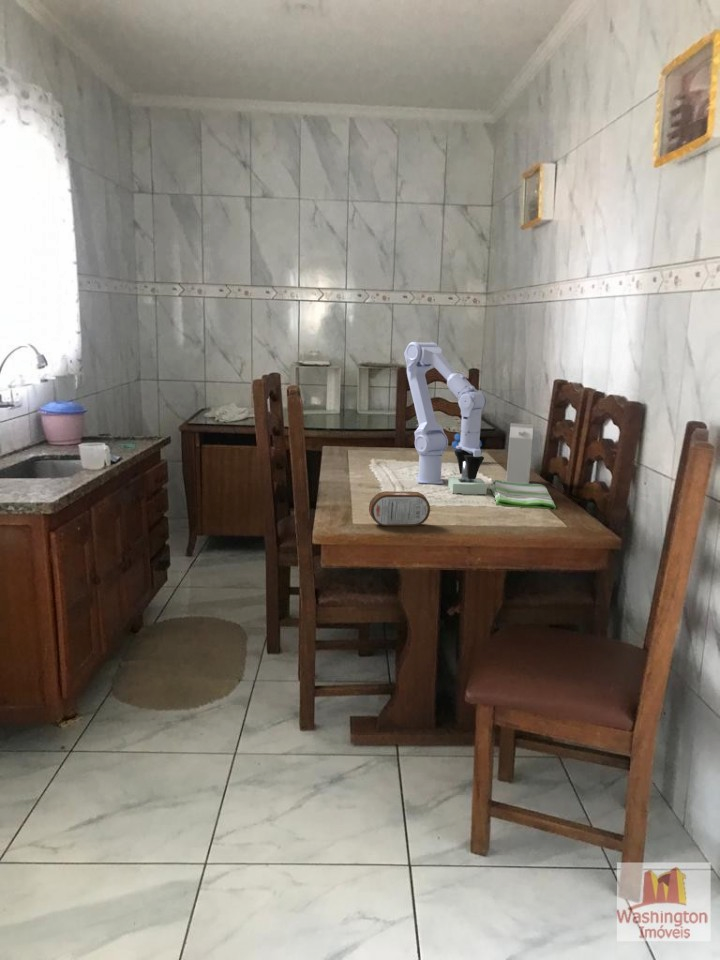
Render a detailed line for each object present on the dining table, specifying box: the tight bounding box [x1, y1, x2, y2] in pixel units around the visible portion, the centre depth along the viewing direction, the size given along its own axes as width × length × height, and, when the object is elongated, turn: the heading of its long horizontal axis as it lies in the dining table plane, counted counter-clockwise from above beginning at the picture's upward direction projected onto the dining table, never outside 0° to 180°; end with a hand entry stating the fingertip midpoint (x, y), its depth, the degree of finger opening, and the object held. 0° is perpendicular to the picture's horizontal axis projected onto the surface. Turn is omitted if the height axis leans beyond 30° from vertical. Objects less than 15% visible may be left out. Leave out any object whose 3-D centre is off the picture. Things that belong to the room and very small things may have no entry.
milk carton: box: [505, 422, 534, 484], centre depth 234 cm, size 7×7×19 cm
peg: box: [461, 461, 472, 483], centre depth 220 cm, size 3×3×9 cm
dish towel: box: [490, 479, 557, 510], centre depth 213 cm, size 17×23×4 cm
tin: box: [368, 490, 431, 527], centre depth 178 cm, size 15×3×8 cm, turn 99°
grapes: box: [451, 433, 483, 457], centre depth 267 cm, size 12×7×12 cm, turn 99°
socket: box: [447, 476, 488, 496], centre depth 220 cm, size 10×10×3 cm
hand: (467, 476), depth 220 cm, fingers open, 7 cm apart
